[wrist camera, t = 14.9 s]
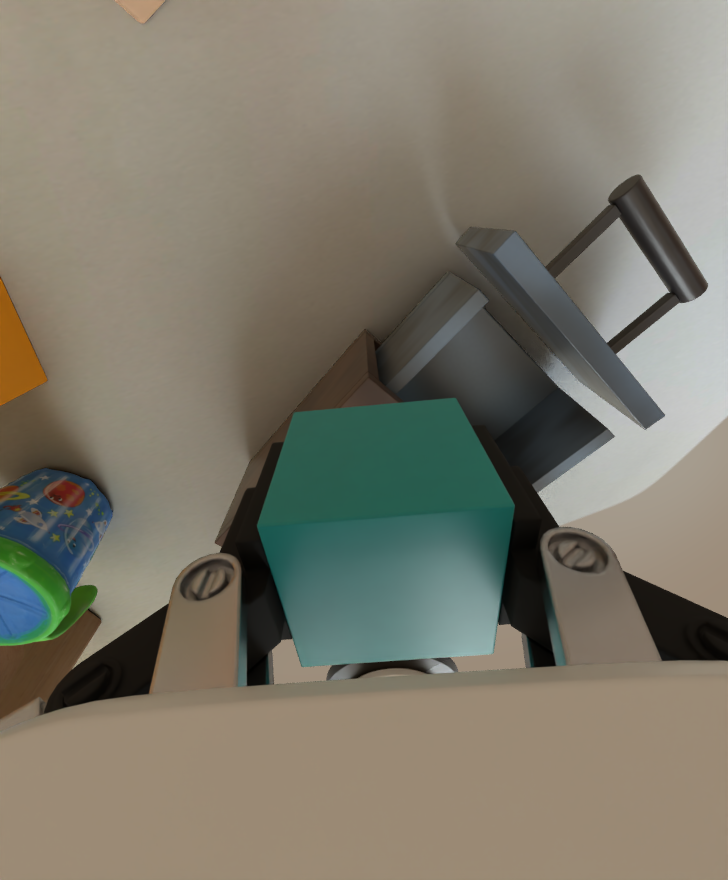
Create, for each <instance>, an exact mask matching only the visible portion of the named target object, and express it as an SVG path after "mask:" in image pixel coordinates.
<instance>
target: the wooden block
mask: <svg viewBox="0 0 728 880" xmlns="http://www.w3.org/2000/svg"><path fill="white" fill-rule="evenodd" d="M100 624H101V620H100V619H99V618H98V617H96V616H95V615H94V614H92V613H91V612H90V611H88V610H86V611H85V612H84V614H83V615H82V616H81V617H80V618H79V619H78V620H77V621H76V622H75V623H74V624H73V625H72V626H71V627H70V628H69V629H68V630H66V631H65V632H64V633H63V634H61V635H60V636H58V637H56V638H54V639H52V640H46V641H39V642H32V643H28V644H22V645H11V646H8V645H6V646H0V719H1V718H3V717H5V716H6V715H8V714H10V713H12V712H13V711H15V710H17V709H19V708H20V707H22V706H24V705H26V704H27V703H29V702H31V701H33V700H34V699H36V698H38V697H40V698H41V699H42V700H43V701H45V700H46V699H48V698H49V697H50V695H51V694H52V692H53V691H54V689H55V687H56V686H57V684H58V683H59V682H60V681H61V680H62V679H63V678H64V677H65V676H66V675H67V674H68V673H69V672H70V671H71V670H72V668H73V667H74V665H75V664H76V662H77V660H78V659H79V657H80V656H81V654H82V652H83V651H84V649H85V648H86V646H87V645H88V643H89V641H90V640H91V638H92V637H93V635H94V633H95V632H96V630H97V629H98V627H99V625H100Z"/></svg>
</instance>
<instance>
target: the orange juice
mask: <svg viewBox="0 0 728 880" xmlns="http://www.w3.org/2000/svg"><path fill="white" fill-rule="evenodd" d="M46 381H48V380H47V378H46V376H45V373H44V371H43V369H42V367H41V365H40V363H39V360H38V358H37V356H36V354H35V352H34V349H33V347H32V345H31V343H30V341H29V339H28V336H27V334H26V332H25V330H24V328H23V326H22V323H21V321H20V319H19V317H18V315H17V312H16V310H15V308H14V306H13V304H12V302H11V299H10V297H9V295H8V293H7V291H6V289H5V286H4V284H3V282H2V280H1V278H0V406H1V405H3V404H5V403H7V402H9V401H11V400H12V399H14V398H16V397H18V396H20V395H22V394H24V393H26V392H27V391H29V390H31V389H33V388H35V387H37V386H39V385H41V384H43V383H44V382H46Z"/></svg>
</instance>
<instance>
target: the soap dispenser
mask: <svg viewBox="0 0 728 880" xmlns="http://www.w3.org/2000/svg"><path fill="white" fill-rule="evenodd" d="M114 1H116V2H117V3H118V4H119V5H120V6H121V7H122V8H123V9H125V10H126V11H127V12H128V13H129V14H130V15H131V16H132V17H134V18H135V19H136V20H137V21H138V22H140V23H145V22H146V21H147V20H148V19H149V18H150V17H151V16H152V15H153V14H154V12H155V11H156V10H157V9H158V8H159V7H160V6H161V5H162V4H163V3H164V2H165V0H114Z"/></svg>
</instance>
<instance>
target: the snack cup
mask: <svg viewBox="0 0 728 880" xmlns="http://www.w3.org/2000/svg"><path fill="white" fill-rule="evenodd" d="M112 513H113V511H112V510H111V509H110V505H109V502H108V500H107V499H106V498H105V496H104V495H103V494H102V493H101V492H100V491H99V490H98V489H97V487H96V485H95V484H94V483H93V482H92V481H91V480H89V479H84V478H81V477H79V476H77V475H74V474H71V473H68V472H63V471H57V470H50V469H48V468H44V469H41V470H36V471H34V472H32V473H30V474H27V475H24V476H22V477H20V478H19V479H18V480H16V481H14V482H11V483H9V484H8V485H6V486H4V487H3V488H1V489H0V646H6V645H8V646H11V645H22V644H28V643H32V642H39V641H46V640H52V639H54V638H56V637H58V636H60V635H61V634H63V633H64V632H65V631H66V630H68V629H69V628H70V627H71V626H72V625H73V624H74V623H75V622H76V621H77V620H78V619H79V618H80V617H81V616H82V615H83V614H84V612H85V611H86V610H87V609H88V608H89V607H90V605H91V604H92V603H93V602H94V600H95V597H96V595H97V591H98V590H97V588H96V587H95V586H92V585H85V586H80V587H77V588H75V587H76V585H77V584H78V582H79V580H80V578H81V577H82V574H83V572H84V570H85V568H86V567H87V565H88V564H89V562H90V560H91V558H92V556H93V555H94V553H95V551H96V549H97V547H98V545H99V542H100V541H101V539H102V537H103V536H104V534H105V531H106V529H107V527H108V525H109V522H110V520H111V518H112ZM74 588H75V589H74Z"/></svg>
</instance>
